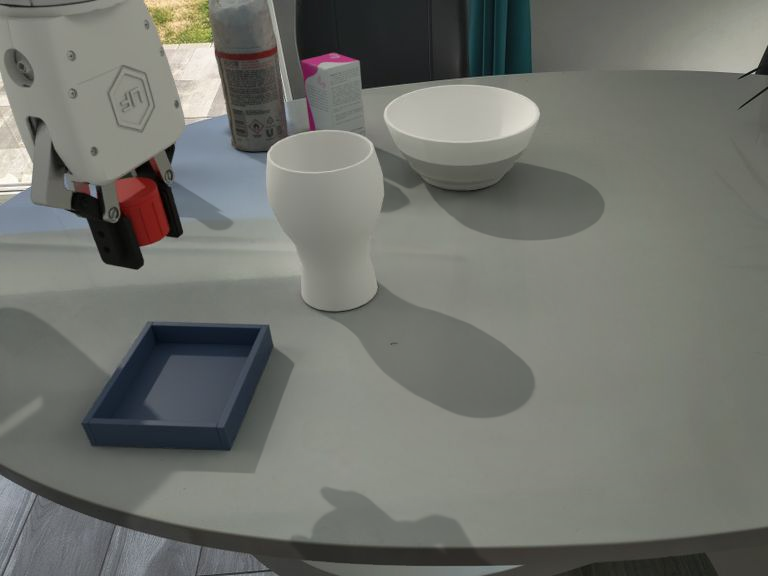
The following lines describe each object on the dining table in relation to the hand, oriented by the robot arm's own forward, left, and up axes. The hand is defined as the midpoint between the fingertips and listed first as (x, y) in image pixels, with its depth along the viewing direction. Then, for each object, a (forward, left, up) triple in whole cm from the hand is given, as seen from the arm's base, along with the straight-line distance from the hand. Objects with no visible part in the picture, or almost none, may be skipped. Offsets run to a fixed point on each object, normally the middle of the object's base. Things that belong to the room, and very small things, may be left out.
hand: (144, 246), depth 54 cm
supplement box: (+3, +53, -15) cm, 55 cm away
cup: (+10, +16, -15) cm, 24 cm away
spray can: (-8, +53, -15) cm, 56 cm away
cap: (0, 0, +1) cm, 1 cm away
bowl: (+21, +44, -15) cm, 51 cm away
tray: (0, 0, -14) cm, 14 cm away
